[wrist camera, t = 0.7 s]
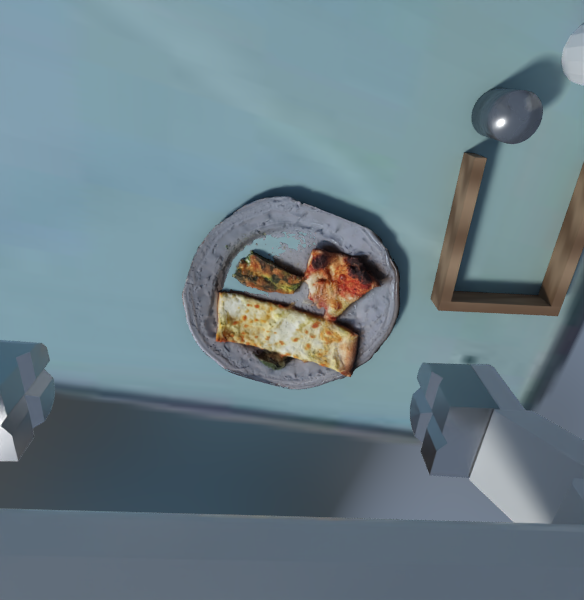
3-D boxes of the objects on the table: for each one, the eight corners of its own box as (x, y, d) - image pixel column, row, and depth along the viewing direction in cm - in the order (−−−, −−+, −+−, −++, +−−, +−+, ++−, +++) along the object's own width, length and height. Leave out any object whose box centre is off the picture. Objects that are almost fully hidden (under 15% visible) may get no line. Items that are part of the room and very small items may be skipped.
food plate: (431, 248, 53) (440, 259, 50) (346, 398, 63) (349, 415, 59) (224, 166, 49) (219, 172, 46) (167, 340, 58) (160, 355, 55)
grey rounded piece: (477, 86, 45) (499, 88, 41) (522, 90, 46) (549, 92, 41) (466, 135, 48) (486, 142, 43) (509, 138, 48) (533, 145, 43)
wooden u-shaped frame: (464, 152, 48) (475, 157, 46) (595, 161, 49) (613, 166, 46) (430, 298, 56) (438, 310, 53) (544, 304, 57) (557, 316, 54)
